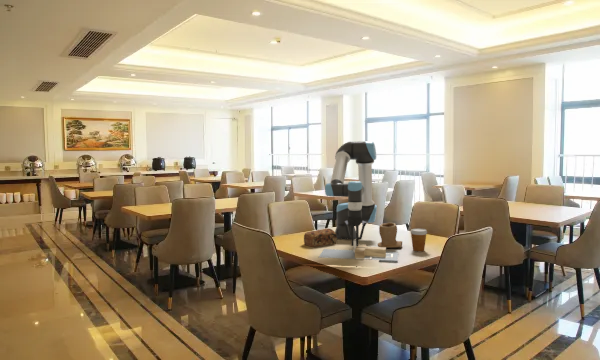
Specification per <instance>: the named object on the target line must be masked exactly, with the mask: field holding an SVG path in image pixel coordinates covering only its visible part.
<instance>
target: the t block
mask: <svg viewBox="0 0 600 360" xmlns="http://www.w3.org/2000/svg"><path fill="white" fill-rule="evenodd" d="M386 251H387V248H386V247H379V246H367V244H361V243H359V245H358V246H357V247H356V249H355V258H365V256H378V257H386Z"/></svg>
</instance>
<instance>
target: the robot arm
mask: <svg viewBox="0 0 600 360" xmlns="http://www.w3.org/2000/svg"><path fill="white" fill-rule="evenodd" d="M376 151H377V150H376V145H375V143H374V141H368V140H367V141H366V140H364V141H363V140H359V141H347V142H345V143H344V144H342V145H340V147H339V148H338V149H337V150H336V153H335V155H334V157H335V158H334V159H335V162H334V163H335V164H334V166H333V170H332V175H331V179H330V182H329V183H326V184H325V186H324V194H325V196H327V197H333V198H335V197H337V198H341V197H342V198H344V197H345V198H347V202H343V203H339V204H337V206H336V228H335V230H334V232H335V233H336V234H337V235H336V236H337V240H351V241H350V243H351V247H352V248H353V249H352V250H353V252H355V249H356V247H357V246H358V245H359V244H360V240H362V239H363V235H364V231H365V226H366V225H367V224H369V223H370V224H371V223H374V222H375V221H376V218H377V212H378V205H377V204H376V203H375V201H374V200H373V174H372V173H373V172H372V171H373V166H372V165H373V164H374V162H375V160H377V152H376ZM351 160H353V161H355V164H356V165H357V166H358V167H357V168H358V169H357V170H358V174H357V175H358V181H357V180H355V181H349V182H348V183H345V179H346V173H347V167H348V164H349V162H350V161H351ZM360 225H362V227H361V230H360V229H359V228H360V227H359V226H360ZM359 230H360V233H359Z"/></svg>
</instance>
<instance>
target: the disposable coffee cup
mask: <svg viewBox="0 0 600 360" xmlns="http://www.w3.org/2000/svg"><path fill="white" fill-rule="evenodd" d="M409 232H410V237H411V243H412V244H411V245H412V251H414V252H424V251H425V247H426V242H427V240H426V239H427V234H428V231H427V229H425V228H412V229H410V231H409Z"/></svg>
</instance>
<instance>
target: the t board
mask: <svg viewBox="0 0 600 360" xmlns="http://www.w3.org/2000/svg"><path fill="white" fill-rule="evenodd" d="M398 255H399V254H398V251H392V250H388V251H387V250H386V257H378V256H365V258H355V252H353V249H338V248H337V249H335V248H324V249H323V250H322V252H320V254H319V256H318V258H322V259H324V258H325V259H326V258H327V259H328V258H329V259H347V260H348V259H349V260H369V261H371V260H373V261H374V260H375V261H378V263H380V262H381V263H398V261H399V259H398V257H399V256H398Z"/></svg>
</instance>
